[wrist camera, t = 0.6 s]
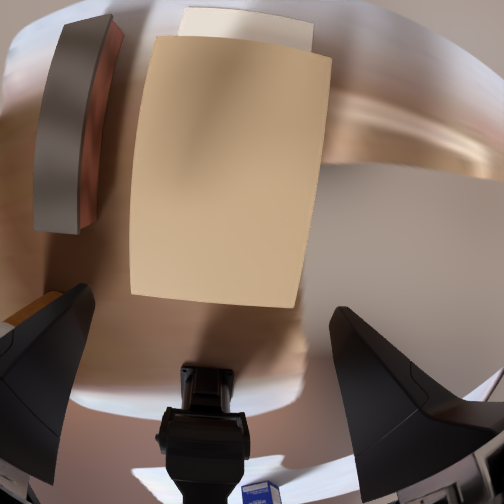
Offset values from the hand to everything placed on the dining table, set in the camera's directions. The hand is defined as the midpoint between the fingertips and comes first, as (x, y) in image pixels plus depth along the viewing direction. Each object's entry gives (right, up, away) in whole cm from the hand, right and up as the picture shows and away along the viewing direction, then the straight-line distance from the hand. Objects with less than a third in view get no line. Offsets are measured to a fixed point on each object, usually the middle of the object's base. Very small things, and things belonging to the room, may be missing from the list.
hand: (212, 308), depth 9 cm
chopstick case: (-15, +15, +11) cm, 24 cm away
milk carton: (+3, -53, +36) cm, 64 cm away
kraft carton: (-1, +9, +14) cm, 17 cm away
